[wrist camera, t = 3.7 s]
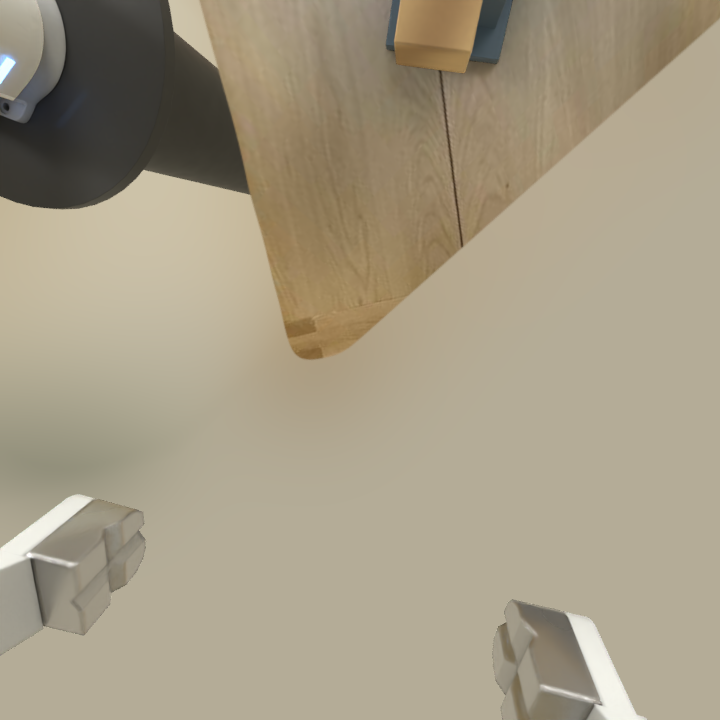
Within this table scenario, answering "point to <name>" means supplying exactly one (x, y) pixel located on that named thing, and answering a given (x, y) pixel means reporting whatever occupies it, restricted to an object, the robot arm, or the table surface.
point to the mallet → (436, 33)
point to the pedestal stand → (487, 32)
